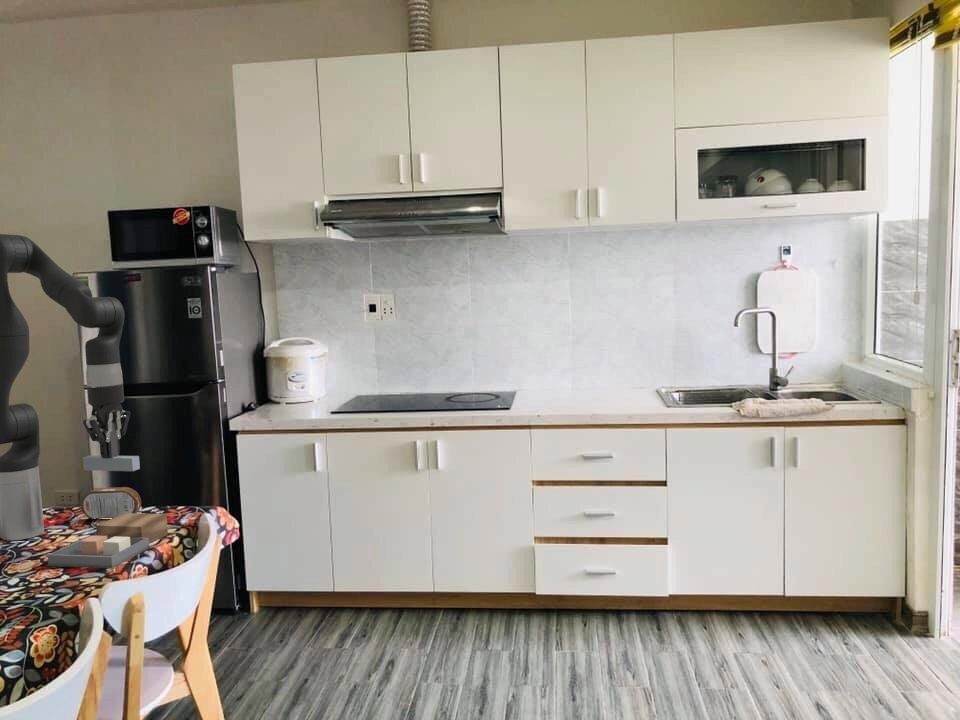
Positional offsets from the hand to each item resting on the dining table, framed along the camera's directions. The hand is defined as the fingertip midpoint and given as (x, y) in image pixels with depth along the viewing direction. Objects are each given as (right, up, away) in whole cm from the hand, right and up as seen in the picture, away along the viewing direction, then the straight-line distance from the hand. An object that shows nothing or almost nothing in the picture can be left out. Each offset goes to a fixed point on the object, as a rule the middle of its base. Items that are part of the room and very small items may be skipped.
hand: (110, 456), depth 174 cm
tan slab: (+2, -21, +7) cm, 23 cm away
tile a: (-3, -19, -2) cm, 19 cm away
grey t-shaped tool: (0, -3, 0) cm, 3 cm away
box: (0, -22, -4) cm, 23 cm away
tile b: (+3, -19, -4) cm, 19 cm away
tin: (-13, -20, +26) cm, 36 cm away
